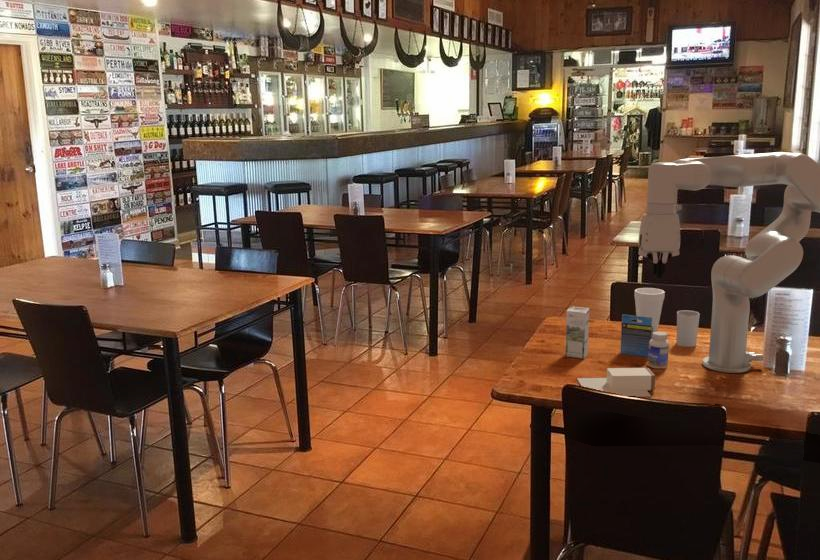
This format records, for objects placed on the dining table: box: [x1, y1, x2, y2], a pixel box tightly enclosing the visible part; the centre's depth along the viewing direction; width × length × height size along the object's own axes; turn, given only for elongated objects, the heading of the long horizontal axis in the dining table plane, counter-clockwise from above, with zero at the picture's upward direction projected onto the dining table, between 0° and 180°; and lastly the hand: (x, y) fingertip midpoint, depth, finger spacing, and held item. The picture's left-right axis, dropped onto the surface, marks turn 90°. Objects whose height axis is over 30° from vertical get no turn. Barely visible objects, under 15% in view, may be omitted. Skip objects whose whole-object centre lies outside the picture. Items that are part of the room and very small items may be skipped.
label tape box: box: [620, 314, 654, 358], centre depth 222 cm, size 9×4×12 cm, turn 63°
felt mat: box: [576, 377, 652, 398], centre depth 196 cm, size 16×13×1 cm
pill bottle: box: [647, 330, 670, 370], centre depth 211 cm, size 5×5×10 cm
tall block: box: [605, 367, 656, 391], centre depth 195 cm, size 4×6×11 cm
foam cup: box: [633, 287, 666, 332], centre depth 247 cm, size 10×9×13 cm
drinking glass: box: [676, 309, 701, 348], centre depth 230 cm, size 7×7×10 cm
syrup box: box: [565, 306, 590, 360], centre depth 221 cm, size 6×6×14 cm
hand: (657, 276), depth 201 cm, fingers closed
